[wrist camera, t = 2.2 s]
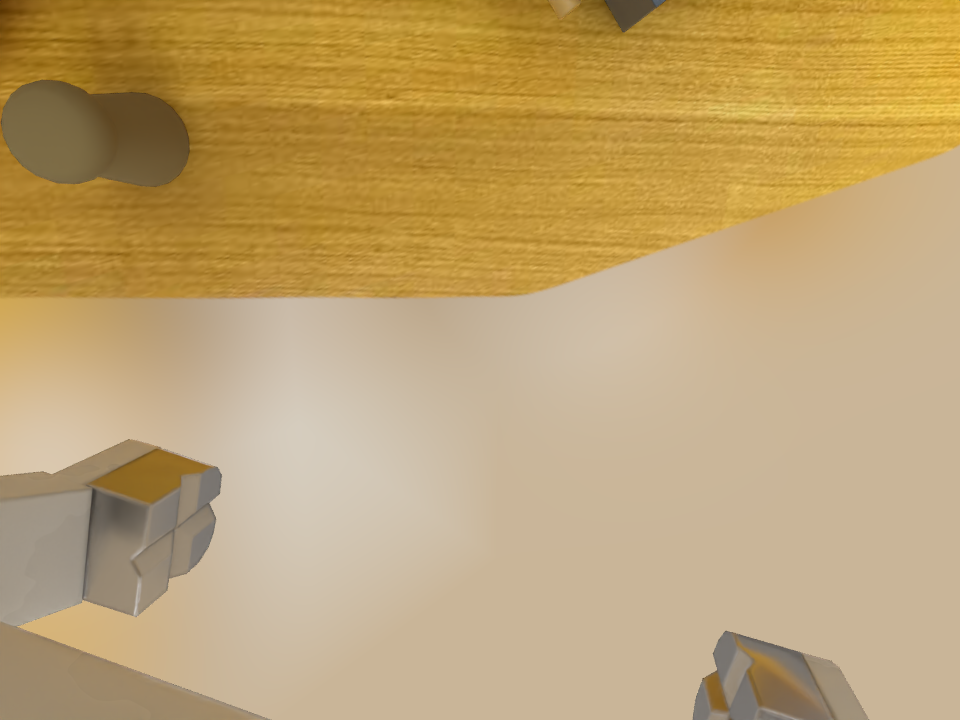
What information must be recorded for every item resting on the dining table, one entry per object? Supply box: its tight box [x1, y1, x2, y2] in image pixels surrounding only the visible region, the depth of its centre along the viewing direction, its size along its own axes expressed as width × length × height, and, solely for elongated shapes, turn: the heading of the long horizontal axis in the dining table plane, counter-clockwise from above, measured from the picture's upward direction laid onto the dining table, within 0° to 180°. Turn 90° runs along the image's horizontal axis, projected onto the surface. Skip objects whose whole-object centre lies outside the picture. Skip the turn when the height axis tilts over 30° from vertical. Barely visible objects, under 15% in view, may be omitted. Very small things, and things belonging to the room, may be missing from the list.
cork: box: [1, 80, 189, 187], centre depth 36 cm, size 6×6×11 cm
